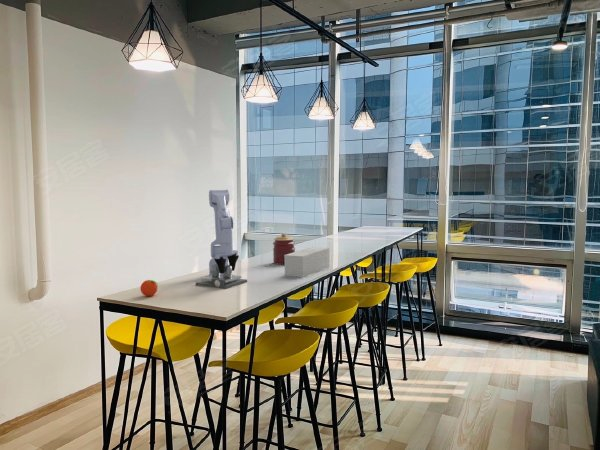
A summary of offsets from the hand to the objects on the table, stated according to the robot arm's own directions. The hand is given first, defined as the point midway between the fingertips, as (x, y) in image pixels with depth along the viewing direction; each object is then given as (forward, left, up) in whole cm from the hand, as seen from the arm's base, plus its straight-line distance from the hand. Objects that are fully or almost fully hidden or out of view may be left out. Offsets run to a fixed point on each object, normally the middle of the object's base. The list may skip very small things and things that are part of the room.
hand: (227, 271), depth 223 cm
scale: (-4, 0, -6) cm, 7 cm away
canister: (-6, +62, -6) cm, 63 cm away
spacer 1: (-7, 0, -3) cm, 7 cm away
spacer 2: (0, 0, -3) cm, 3 cm away
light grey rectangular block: (+18, +45, -6) cm, 49 cm away
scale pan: (-4, 0, -4) cm, 6 cm away
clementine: (-16, -33, -6) cm, 37 cm away
